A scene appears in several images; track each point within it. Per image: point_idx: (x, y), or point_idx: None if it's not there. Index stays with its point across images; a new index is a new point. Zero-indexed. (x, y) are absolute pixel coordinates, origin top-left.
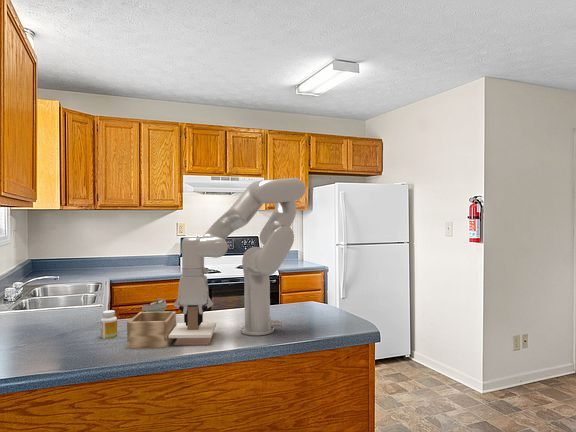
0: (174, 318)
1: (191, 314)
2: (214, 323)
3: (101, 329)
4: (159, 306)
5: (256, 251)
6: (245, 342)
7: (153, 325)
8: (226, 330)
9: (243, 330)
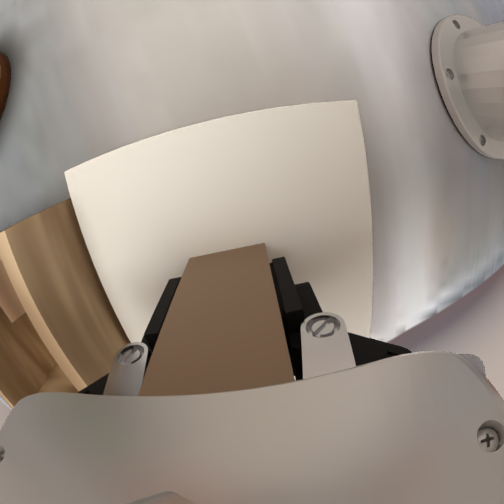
0: (51, 263)
1: None
2: (352, 128)
3: None
4: None
5: None
6: (463, 240)
7: None
8: (362, 45)
9: (461, 115)
